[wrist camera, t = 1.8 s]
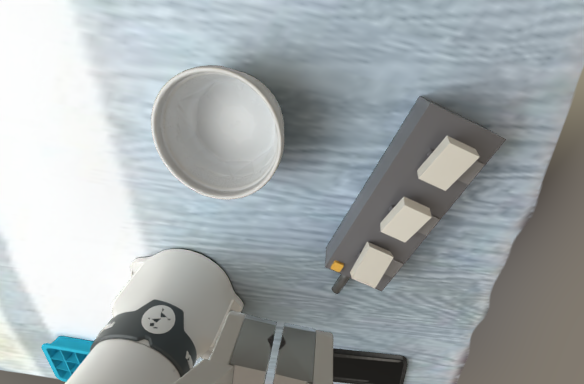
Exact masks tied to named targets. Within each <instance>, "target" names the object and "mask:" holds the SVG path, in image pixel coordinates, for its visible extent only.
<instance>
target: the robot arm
mask: <svg viewBox="0 0 584 384" xmlns="http://www.w3.org/2000/svg"><path fill="white" fill-rule="evenodd" d="M130 272H131V278H130V280H129V281H128V282H127V284H126V285H125V286H124V287H123V289H122V290H121V291H120V293H119V294H118V295H117V297H116V298H115V299H114V301H113V302H112V304H111V307H112V315H113V318H112V319H111V321H110V322H109V323H108V324H107V325H106V326H105V327H104V328H103V329H102V330H101V332H100V333H99V334H98V336H97V338H96V340H95V341H94V342H93V344H92V345H91V348H90V353H89V354H88V355H87V357H86V358H85V359H84V360H83V362H82V363H81V364H80V365H79V367H78V368H77V369H76V370H75V372H74V373H73V374H72V375H71V377H70V378H69V379H68V380H67V382H66V383H65V384H265V379H266V374H267V369H268V365H269V360H270V355H271V350H272V345H273V340H274V334H275V330H276V324H277V322H276V321H272V320H268V319H264V318H260V317H256V316H252V315H248V314H244V313H240V312H241V311H242V309H243V307H244V304H243V302H242V300H241V299H240V298H239V297H238V296H237V295H236V294H235V292H234V291H233V288H232V286H231V283H230V280H229V279H228V277H227V275H226V274H225V272H224V271H223V270H222V269H221V268H220V267H219V266H218V265H217V264H216V263H215V262H213V261H212V260H210V259H209V258H207V257H205V256H203V255H201V254H199V253H196V252H193V251H190V250H184V249H168V250H164V251H161V252H159V253H157V254H155V255H153V256H151V257H143V258H136V259H134V261H133V262H132V263H131V265H130ZM218 336H219V337H218ZM217 338H218V339H217ZM216 340H217V342H216ZM212 351H213V352H212ZM211 353H212V354H211ZM210 355H211V357H210ZM200 357H201V358H203V359H204V360H202V361H201V362H200V363H199V364H197V365H196V366H195V367H194V368H193V366H194V364H195V362H196V360H197V359H198V358H200ZM209 357H210V359H209V360H208V358H209ZM273 384H333V335H332V333H329V332H324V331H320V330H316V329H312V328H307V327H303V326H298V325H293V324H288V323H285V324H284V328H283V333H282V338H281V343H280V348H279V353H278V358H277V363H276V368H275V374H274V379H273Z"/></svg>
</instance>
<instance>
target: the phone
mask: <svg viewBox="0 0 584 384" xmlns="http://www.w3.org/2000/svg"><path fill="white" fill-rule="evenodd" d="M406 368H407V361H406V358H405V357H404V356H401V355H392V354H382V353H372V352H362V351H352V350H342V349H333V382H342V383H351V384H403V382H404V377H405V373H406Z"/></svg>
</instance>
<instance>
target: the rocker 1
mask: <svg viewBox="0 0 584 384" xmlns="http://www.w3.org/2000/svg"><path fill="white" fill-rule="evenodd" d="M393 258H394V257H393V255H392V254H391V252H390V251H388V250H386V249H383V248H381V247H379V246H376V245H374V244H372V243H370V242H367V243H366V245H365V247H364V248H363V250H362V252H361V254H360V255H359V257H358V259H357V261H356V263H355V264H354V266H353V268H352V270H351V271H350V274H351V277H352V279H354V280H356V281H359V282H361V283H363V284H366V285H368V286H370V287H373V288H376V286H377V284H378V283H379V281H380V279H381V278H382V276H383V274H384V273H385V271H386V269H387V268H388V266H389V264H390V263H391V261H392V259H393Z"/></svg>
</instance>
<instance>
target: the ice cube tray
mask: <svg viewBox="0 0 584 384" xmlns="http://www.w3.org/2000/svg"><path fill="white" fill-rule="evenodd" d="M93 342H94V341H88V340H83V339H77V338H71V337H65V336H59V337H58V338H57V339H56V340H55V341H54V342H52V343H51V344H48V343H46V344H43V345H42V347H41V348H42V350H43V352H44V354H45V356H46V358H47V360H48V362H49V364H50V366H51V368H52V370H53V372H54V374H55V376H56V377H57V378H58V379H59V380H62V381H65V382H67V380H68V379H69V378H70V377H71V375H72V374H73V373H74V372H75V370H76V369H77V368H78V367H79V365H80V364H81V363H82V362H83V360H84V359H85V358H86V357H87V355H88V354H89V353H90V348H91V345H92V344H93Z"/></svg>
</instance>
